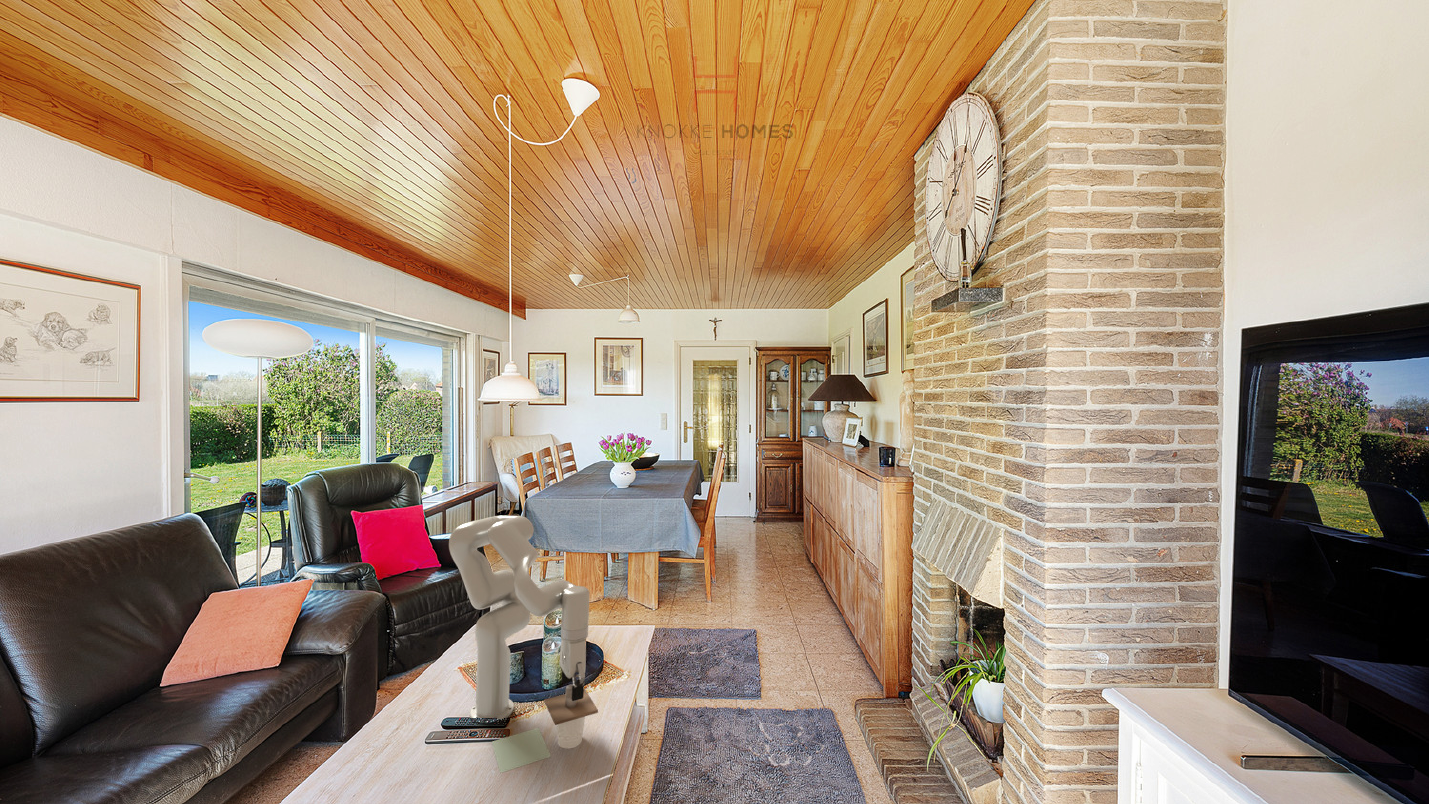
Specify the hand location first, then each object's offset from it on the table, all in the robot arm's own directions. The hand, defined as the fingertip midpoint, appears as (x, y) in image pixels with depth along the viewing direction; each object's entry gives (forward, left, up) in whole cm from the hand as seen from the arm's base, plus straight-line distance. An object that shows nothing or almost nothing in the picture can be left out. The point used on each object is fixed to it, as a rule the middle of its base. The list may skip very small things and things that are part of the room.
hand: (572, 690), depth 149 cm
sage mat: (-3, -13, -15) cm, 20 cm away
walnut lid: (0, 0, -5) cm, 5 cm away
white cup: (0, 0, -15) cm, 15 cm away
